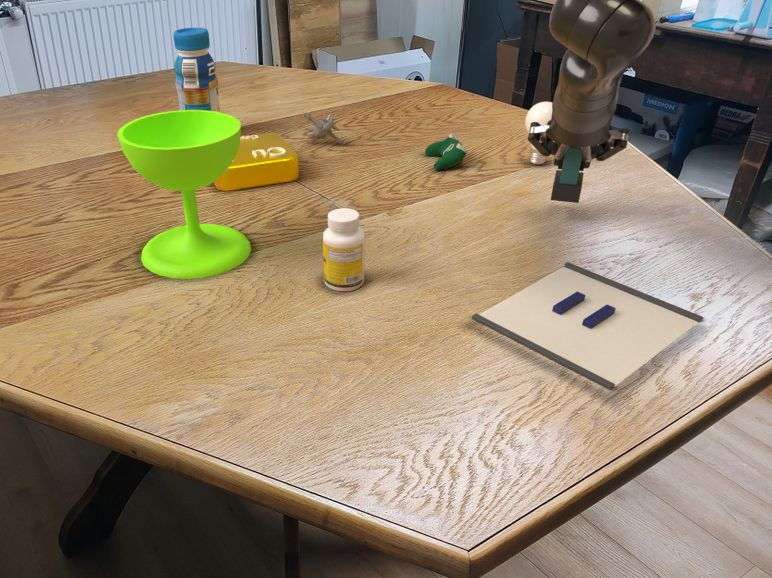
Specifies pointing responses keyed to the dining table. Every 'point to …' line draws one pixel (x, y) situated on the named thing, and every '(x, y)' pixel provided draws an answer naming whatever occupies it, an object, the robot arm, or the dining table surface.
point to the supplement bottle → (344, 251)
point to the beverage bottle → (195, 71)
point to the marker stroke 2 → (598, 316)
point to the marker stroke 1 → (568, 303)
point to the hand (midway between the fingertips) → (571, 164)
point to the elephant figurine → (323, 128)
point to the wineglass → (187, 187)
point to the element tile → (260, 163)
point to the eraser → (568, 178)
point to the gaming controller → (446, 152)
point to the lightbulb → (542, 116)
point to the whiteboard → (579, 343)
